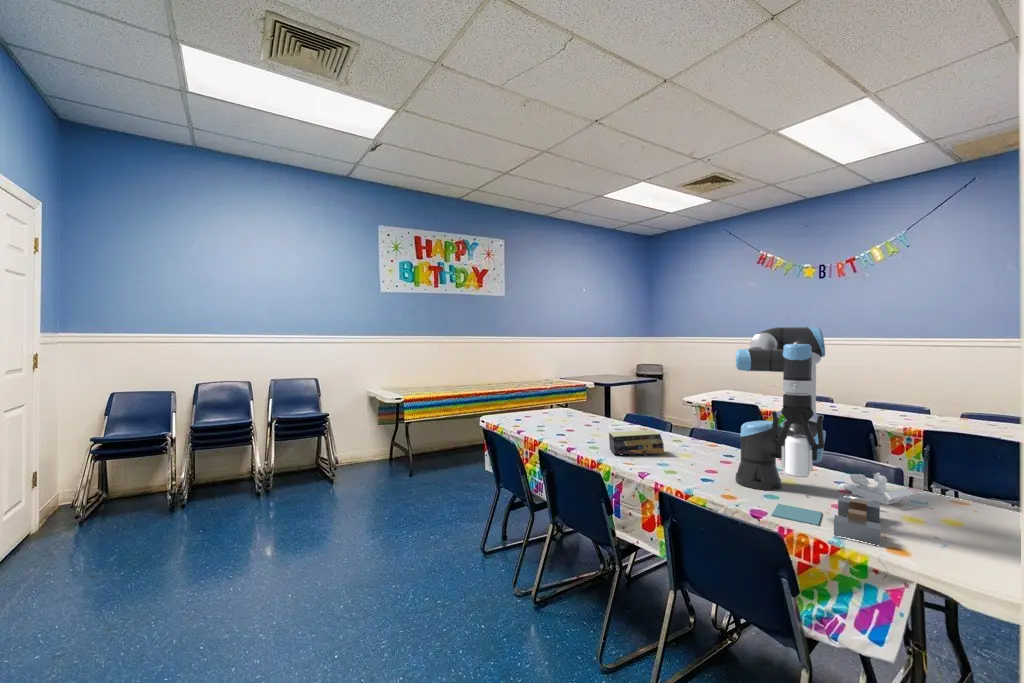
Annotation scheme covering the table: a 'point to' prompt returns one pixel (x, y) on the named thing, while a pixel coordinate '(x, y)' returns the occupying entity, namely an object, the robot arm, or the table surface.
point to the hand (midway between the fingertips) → (797, 468)
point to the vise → (858, 519)
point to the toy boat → (875, 489)
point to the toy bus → (636, 442)
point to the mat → (797, 514)
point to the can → (797, 455)
